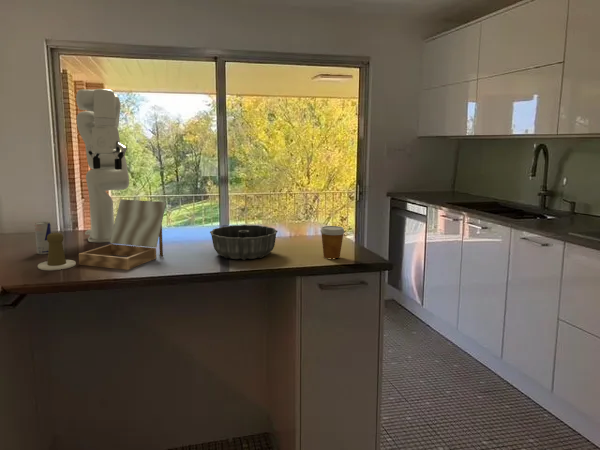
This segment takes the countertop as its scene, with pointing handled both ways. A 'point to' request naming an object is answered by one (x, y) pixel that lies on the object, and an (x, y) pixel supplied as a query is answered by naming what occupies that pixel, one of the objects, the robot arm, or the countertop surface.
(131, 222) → the cold frame
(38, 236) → the energy drink
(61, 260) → the cork
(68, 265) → the saucer
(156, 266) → the countertop surface
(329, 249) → the disposable coffee cup
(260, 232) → the bundt pan
